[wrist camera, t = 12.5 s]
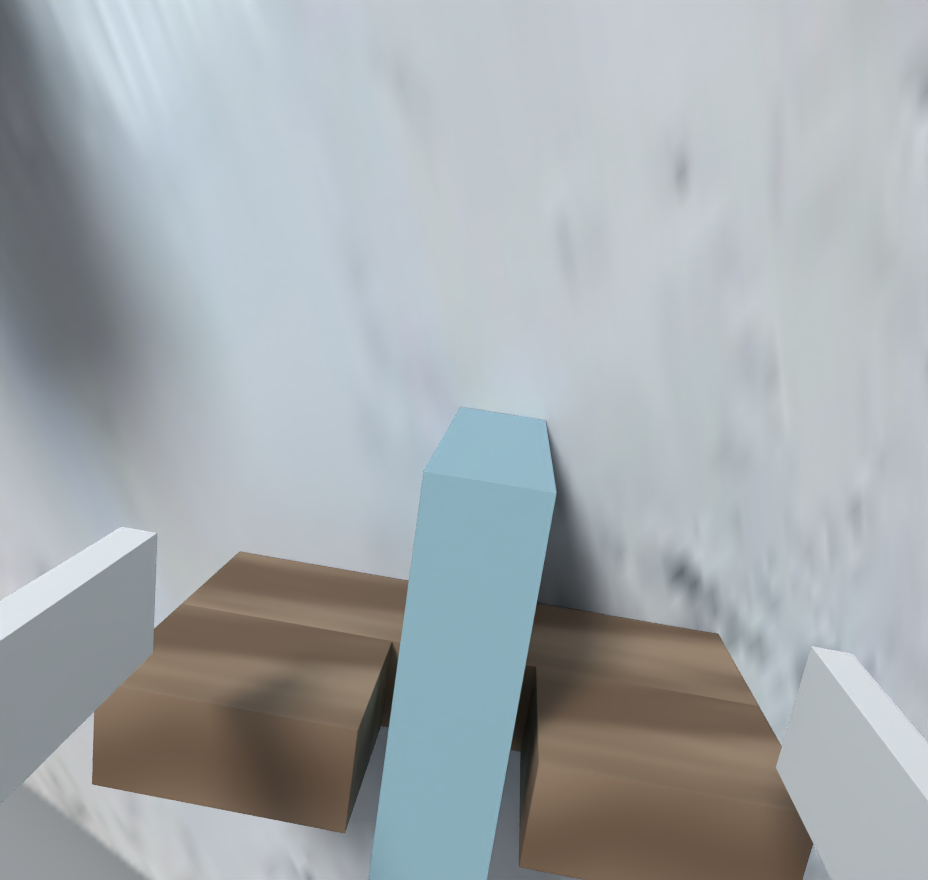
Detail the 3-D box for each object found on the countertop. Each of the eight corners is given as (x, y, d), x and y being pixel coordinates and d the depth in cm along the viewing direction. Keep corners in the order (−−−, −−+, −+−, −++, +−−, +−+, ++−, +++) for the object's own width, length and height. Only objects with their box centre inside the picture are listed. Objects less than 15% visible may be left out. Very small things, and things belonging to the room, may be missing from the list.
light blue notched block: (460, 406, 24) (423, 471, 16) (545, 420, 24) (556, 492, 15) (404, 795, 28) (348, 1027, 19) (478, 809, 28) (455, 1050, 19)
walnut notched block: (239, 551, 26) (95, 682, 17) (718, 634, 25) (821, 816, 16) (234, 623, 27) (92, 784, 18) (700, 706, 26) (790, 919, 17)
